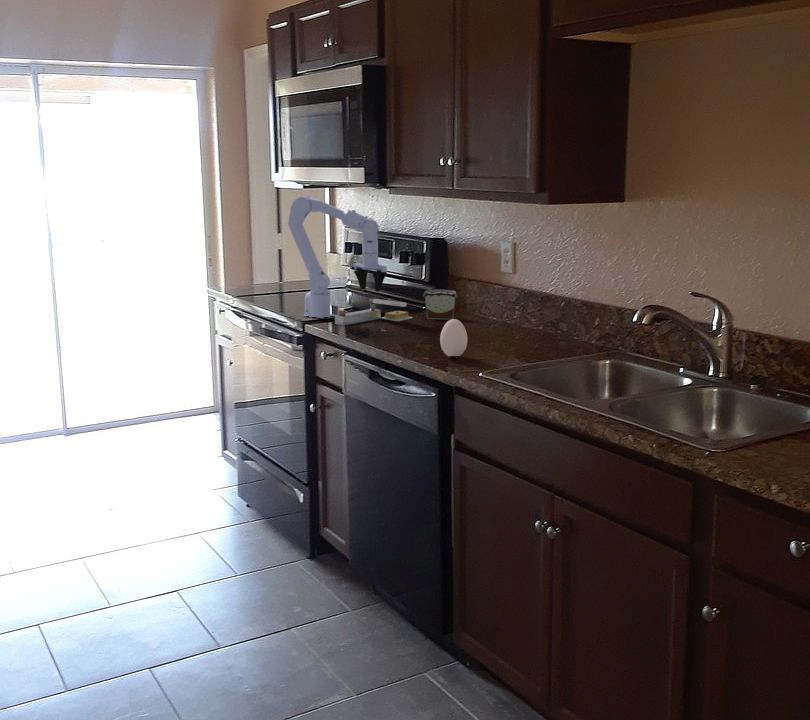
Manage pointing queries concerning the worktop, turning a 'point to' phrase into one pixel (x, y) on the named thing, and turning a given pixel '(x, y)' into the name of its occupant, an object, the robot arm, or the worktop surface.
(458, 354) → the egg
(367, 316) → the plane body
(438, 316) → the food container
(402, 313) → the cap
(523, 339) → the worktop surface
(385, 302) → the lever
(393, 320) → the mat
